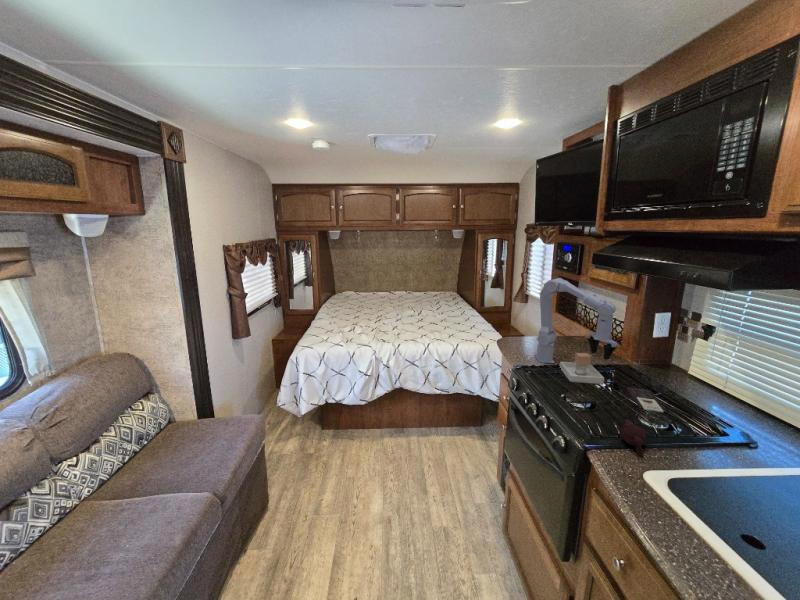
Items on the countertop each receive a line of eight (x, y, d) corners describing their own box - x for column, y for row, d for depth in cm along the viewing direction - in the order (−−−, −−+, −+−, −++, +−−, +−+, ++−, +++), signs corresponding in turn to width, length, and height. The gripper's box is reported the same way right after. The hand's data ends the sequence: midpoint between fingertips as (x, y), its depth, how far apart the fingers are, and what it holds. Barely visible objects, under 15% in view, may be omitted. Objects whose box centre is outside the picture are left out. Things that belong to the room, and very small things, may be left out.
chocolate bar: (650, 390, 140) (667, 412, 124) (649, 392, 140) (667, 414, 124) (626, 386, 143) (640, 407, 127) (625, 388, 143) (639, 409, 127)
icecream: (613, 411, 114) (624, 440, 101) (638, 410, 111) (653, 440, 98) (615, 428, 116) (627, 459, 102) (640, 428, 113) (656, 459, 99)
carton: (574, 361, 156) (575, 352, 155) (586, 361, 155) (587, 353, 154) (578, 365, 152) (579, 356, 151) (590, 365, 151) (591, 356, 150)
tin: (573, 372, 157) (574, 361, 156) (581, 371, 158) (582, 360, 156) (579, 376, 153) (580, 365, 151) (587, 375, 153) (589, 364, 152)
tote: (559, 367, 164) (560, 361, 163) (589, 368, 162) (589, 363, 161) (570, 381, 149) (571, 375, 148) (603, 384, 146) (604, 378, 146)
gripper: (584, 324, 155) (581, 350, 158) (609, 334, 141) (605, 363, 144) (597, 323, 156) (593, 349, 159) (623, 333, 142) (618, 361, 145)
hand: (599, 356), depth 152 cm, fingers open, 7 cm apart
